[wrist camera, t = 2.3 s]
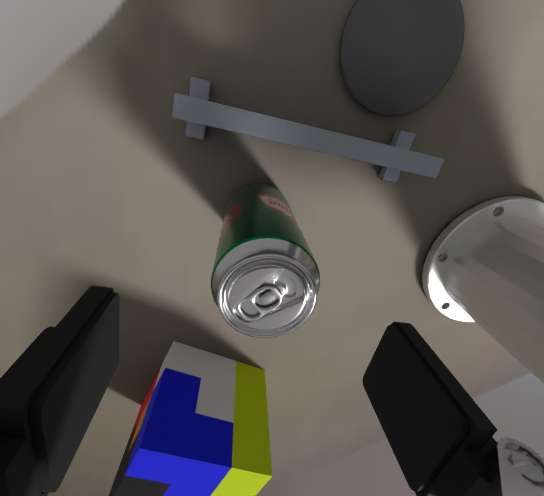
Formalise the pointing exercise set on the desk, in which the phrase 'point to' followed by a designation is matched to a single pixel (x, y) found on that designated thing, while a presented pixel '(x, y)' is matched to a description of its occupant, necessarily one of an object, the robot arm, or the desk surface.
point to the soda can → (263, 265)
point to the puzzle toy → (199, 430)
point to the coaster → (400, 52)
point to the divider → (301, 134)
